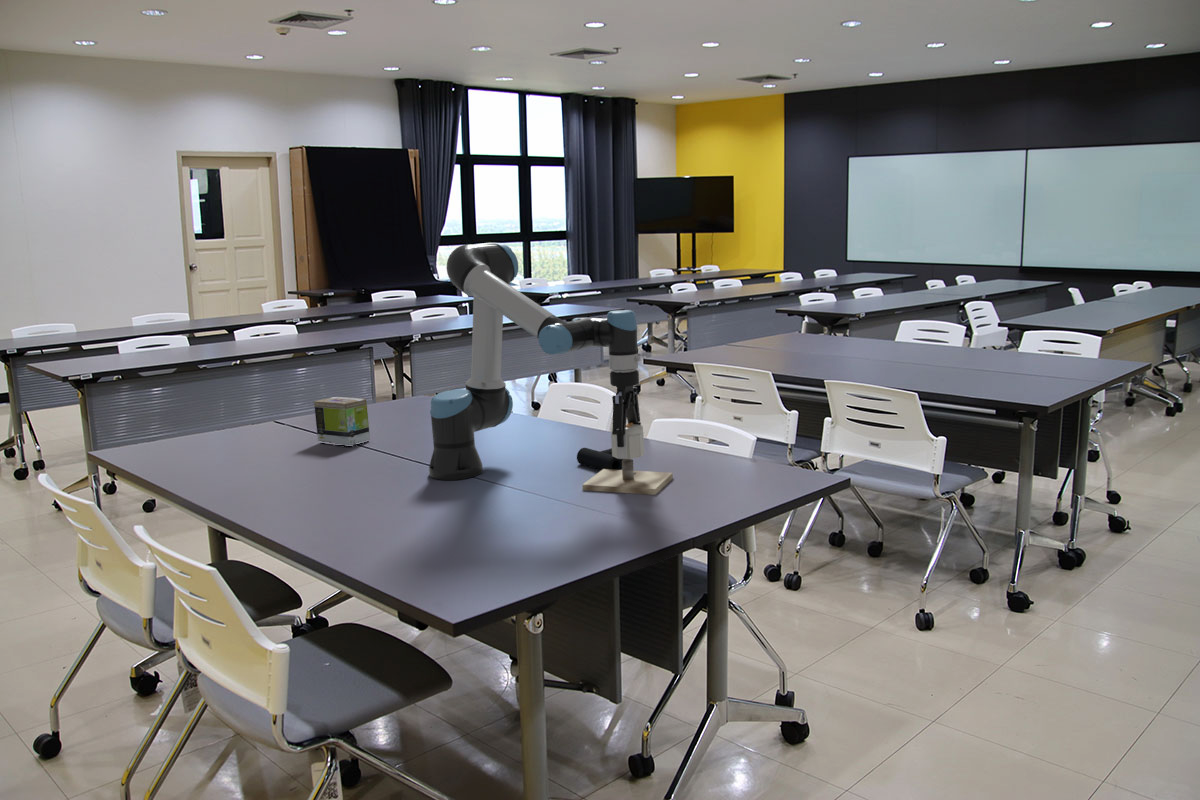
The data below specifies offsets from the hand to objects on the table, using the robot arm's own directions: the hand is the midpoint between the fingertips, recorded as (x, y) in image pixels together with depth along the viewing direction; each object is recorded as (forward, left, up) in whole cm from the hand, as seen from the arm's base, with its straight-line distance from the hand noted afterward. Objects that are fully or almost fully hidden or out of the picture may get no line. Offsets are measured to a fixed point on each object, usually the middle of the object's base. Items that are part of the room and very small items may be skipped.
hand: (627, 454), depth 253 cm
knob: (0, 0, 0) cm, 0 cm away
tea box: (-109, +27, -9) cm, 113 cm away
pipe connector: (-12, +17, -9) cm, 22 cm away
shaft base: (0, 0, -8) cm, 8 cm away
